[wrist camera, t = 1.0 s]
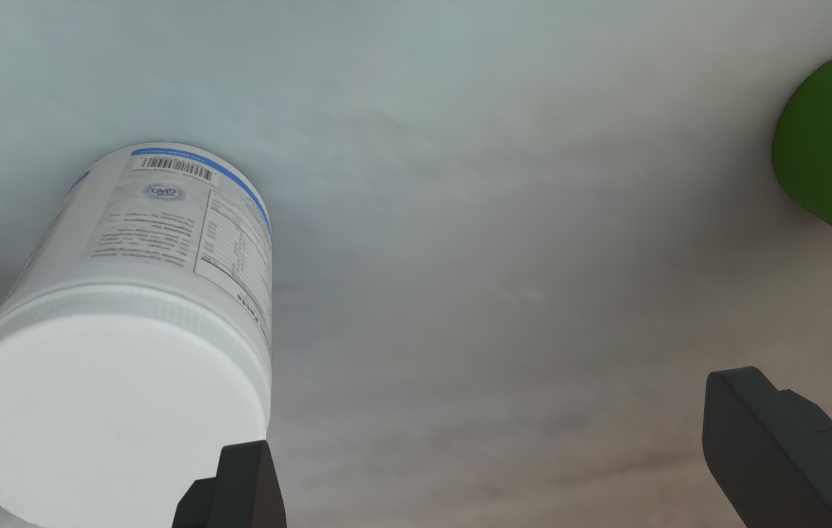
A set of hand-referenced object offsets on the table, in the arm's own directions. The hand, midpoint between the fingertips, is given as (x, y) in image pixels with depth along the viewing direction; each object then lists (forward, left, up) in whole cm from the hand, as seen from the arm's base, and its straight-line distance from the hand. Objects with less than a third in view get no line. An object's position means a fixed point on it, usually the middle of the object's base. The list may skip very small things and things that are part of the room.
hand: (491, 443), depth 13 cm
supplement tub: (+2, -12, -23) cm, 26 cm away
